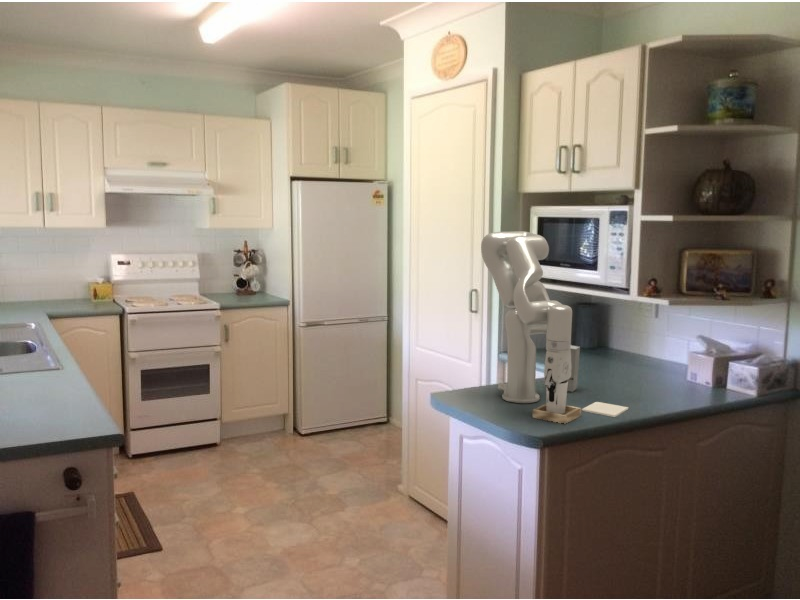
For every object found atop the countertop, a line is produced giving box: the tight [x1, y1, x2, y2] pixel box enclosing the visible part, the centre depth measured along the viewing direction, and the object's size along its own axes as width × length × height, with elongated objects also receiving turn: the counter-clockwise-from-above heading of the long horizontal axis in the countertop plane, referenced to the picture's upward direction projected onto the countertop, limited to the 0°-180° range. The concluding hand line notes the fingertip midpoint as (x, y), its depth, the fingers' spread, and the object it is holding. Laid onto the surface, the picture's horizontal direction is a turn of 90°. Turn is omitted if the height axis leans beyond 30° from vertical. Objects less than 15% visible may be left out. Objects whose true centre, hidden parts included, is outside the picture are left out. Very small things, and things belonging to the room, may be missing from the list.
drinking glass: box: [545, 380, 568, 415], centre depth 224 cm, size 7×7×10 cm
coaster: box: [581, 401, 629, 418], centre depth 231 cm, size 11×11×1 cm
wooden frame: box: [532, 403, 582, 425], centre depth 224 cm, size 11×11×2 cm
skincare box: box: [567, 344, 581, 393], centre depth 256 cm, size 8×7×16 cm
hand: (555, 401), depth 225 cm, fingers closed on drinking glass, 3 cm apart
